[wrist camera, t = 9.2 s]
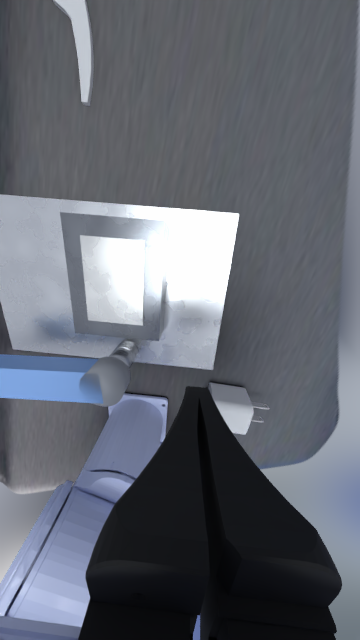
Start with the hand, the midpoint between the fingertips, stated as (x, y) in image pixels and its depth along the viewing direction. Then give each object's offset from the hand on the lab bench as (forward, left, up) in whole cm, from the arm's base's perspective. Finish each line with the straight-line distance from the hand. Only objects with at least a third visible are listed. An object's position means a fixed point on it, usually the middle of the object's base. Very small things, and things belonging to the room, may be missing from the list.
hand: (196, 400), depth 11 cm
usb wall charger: (-8, -6, -11) cm, 15 cm away
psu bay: (+4, +9, -10) cm, 14 cm away
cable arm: (-3, +14, -5) cm, 15 cm away
